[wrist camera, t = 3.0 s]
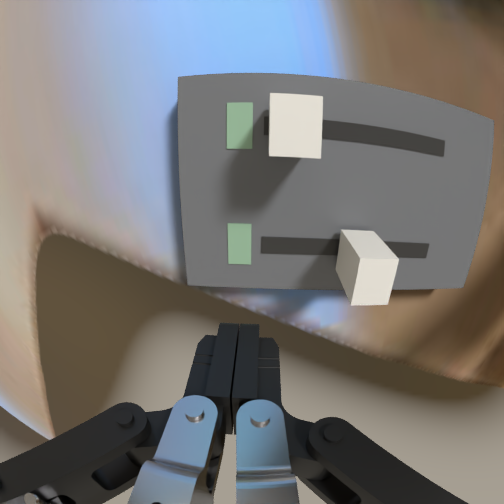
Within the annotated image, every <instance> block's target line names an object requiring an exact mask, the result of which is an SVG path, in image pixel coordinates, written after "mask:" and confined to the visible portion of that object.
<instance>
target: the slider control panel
mask: <svg viewBox="0 0 504 504" xmlns="http://www.w3.org/2000/svg"><path fill="white" fill-rule="evenodd" d="M270 93H286V94H302V95H314V96H323V118H322V145H321V159H317V158H301V157H281V156H269V150H268V146H269V100H270ZM493 138H494V120H491V119H489V118H486V117H484V116H482V115H479V114H476V113H474V112H471V111H469V110H466V109H463V108H460V107H457V106H454V105H451V104H448V103H445V102H442V101H439V100H436V99H432V98H429V97H425V96H422V95H418V94H414V93H410V92H406V91H402V90H398V89H394V88H389V87H384V86H380V85H374V84H369V83H363V82H357V81H351V80H344V79H337V78H329V77H320V76H309V75H296V74H277V73H226V74H207V75H194V76H183V77H178V156H179V181H180V200H181V216H182V229H183V242H184V253H185V264H186V274H187V283H188V285H193V286H213V287H236V288H264V289H305V290H344V288H343V286H342V283H341V281H340V279H339V276H338V274H337V272H336V263H337V256H338V249H339V242H340V234H341V229H343V230H363V231H374V232H375V233H376V234H377V235H378V236H379V237H380V239H381V240H382V241H383V242H384V243H385V244H386V245H387V246H388V247H389V249H390V250H391V251H392V252H393V253H394V254H395V255H396V256H397V258H398V259H399V262H398V266H397V270H396V275H395V279H394V282H393V286H392V290H409V289H447V288H463V287H464V284H465V281H466V278H467V275H468V271H469V268H470V265H471V262H472V258H473V255H474V251H475V248H476V244H477V240H478V236H479V232H480V228H481V223H482V219H483V214H484V209H485V204H486V198H487V192H488V186H489V179H490V171H491V163H492V152H493Z"/></svg>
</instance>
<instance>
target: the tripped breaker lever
mask: <svg viewBox="0 0 504 504" xmlns="http://www.w3.org/2000/svg"><path fill="white" fill-rule="evenodd" d="M398 262H399V259H398V258H397V256H396V255H395V254H394V253H393V252H392V251H391V250H390V249H389V247H388V246H387V245H386V244H385V243H384V242H383V241H382V240H381V239H380V237H379V236H378V235H377V234H376V233H375V232H374V231H363V230H343V229H341V234H340V242H339V249H338V256H337V263H336V272H337V274H338V276H339V279H340V281H341V283H342V286H343V288H344V290H345V293H346V295H347V297H348V300H349V302H350V305H387V304H388V301H389V297H390V294H391V290H392V286H393V282H394V279H395V275H396V270H397V266H398Z"/></svg>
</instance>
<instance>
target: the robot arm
mask: <svg viewBox="0 0 504 504" xmlns="http://www.w3.org/2000/svg"><path fill="white" fill-rule="evenodd" d="M233 424H234V434H236V435H237V436H236V446H237V447H236V448H237V452H236V453H237V475H236V499H237V501H236V504H300V503H299V497H298V489H297V482H296V478H295V476H298V478H299V479H300V480H301V481H302V482H303V483H304V484H306V486H308V488H310V489H311V490H312V491H313V492H314V493H315V494H316V495H318V496H319V497H320V498H321V499H322V500H323V501H325V502H326V503H327V504H468V503H467V502H465V501H463V500H461V499H460V498H458V497H456V496H454V495H453V494H451V493H450V492H448V491H446V490H445V489H443V488H441V487H440V486H438V485H437V484H435V483H433V482H432V481H430V480H429V479H427V478H425V477H424V476H422V475H421V474H419V473H418V472H416V471H415V470H413V469H412V468H410V467H409V466H407V465H406V464H404V463H403V462H402V461H400V460H399V459H397V458H396V457H394V456H393V455H392V454H390V453H389V452H387V451H386V450H385V449H383V448H382V447H380V446H379V445H378V444H376V443H375V442H374V441H372V440H371V439H369V438H368V437H367V436H365V435H364V434H363V433H361V432H360V431H359V430H357V429H356V428H355V427H353V426H352V425H351V424H350V423H348V422H347V421H345V420H343V419H341V418H336V417H327V418H323V419H320V420H319V421H317V422H316V423H312V422H308V421H304V420H300V419H297V418H295V417H293V416H291V415H290V414H289V413H287V412H286V410H285V409H284V407H283V406H282V403H281V384H280V362H279V347H278V345H277V344H276V342H275V341H274V339H273V338H259V324H240V331H239V324H234V323H220V325H219V329H218V334H217V336H214V335H205V337H204V338H203V339H202V340H201V341H200V342H199V343H198V345H197V349H196V353H195V356H194V360H193V364H192V367H191V371H190V375H189V378H188V382H187V386H186V389H185V393H184V396H183V398H182V399H180V400H179V401H178V402H177V403H176V404H175V405H174V407H172V408H170V409H167V410H162V411H153V412H145V411H144V410H143V409H142V408H141V407H140V406H138V405H136V404H134V403H128V402H125V403H119V404H117V405H115V406H113V407H111V408H109V409H108V410H106V411H104V412H102V413H100V414H98V415H97V416H95V417H93V418H91V419H90V420H88V421H86V422H84V423H82V424H80V425H78V426H76V427H74V428H73V429H71V430H69V431H67V432H65V433H63V434H61V435H59V436H57V437H55V438H53V439H51V440H49V441H47V442H45V443H43V444H41V445H39V446H37V447H35V448H33V449H31V450H29V451H27V452H24V453H22V454H20V455H18V456H16V457H14V458H11V459H9V460H7V461H5V462H2V463H0V504H102V503H105V502H106V501H108V500H110V499H112V498H113V497H115V496H117V495H119V494H120V493H122V492H124V491H125V490H127V489H129V488H130V487H132V486H134V488H133V491H132V493H131V496H130V498H129V501H128V504H213V503H214V501H213V499H214V492H215V488H216V483H217V478H218V474H219V469H220V465H221V460H222V455H223V449H224V443H225V434H232V433H233Z"/></svg>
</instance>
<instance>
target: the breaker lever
mask: <svg viewBox="0 0 504 504" xmlns="http://www.w3.org/2000/svg"><path fill="white" fill-rule="evenodd" d="M322 118H323V96H314V95H302V94H286V93H270V100H269V146H268V150H269V156H281V157H301V158H317V159H321V145H322Z"/></svg>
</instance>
